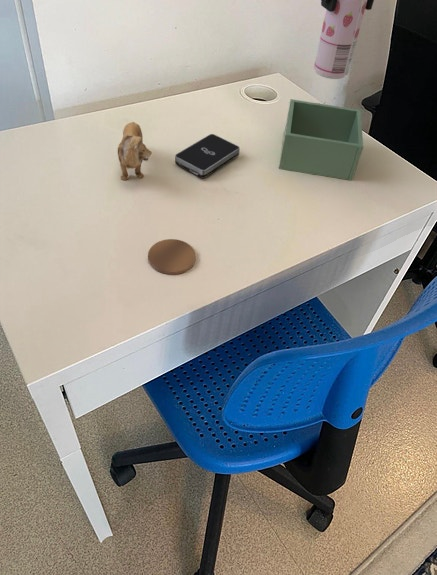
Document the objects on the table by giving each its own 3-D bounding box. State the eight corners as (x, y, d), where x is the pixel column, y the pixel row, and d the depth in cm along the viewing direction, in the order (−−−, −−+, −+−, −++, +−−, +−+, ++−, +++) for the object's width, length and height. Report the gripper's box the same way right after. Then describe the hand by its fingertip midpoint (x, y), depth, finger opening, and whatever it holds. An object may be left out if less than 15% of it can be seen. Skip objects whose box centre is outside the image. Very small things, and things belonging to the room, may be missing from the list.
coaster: (199, 246, 75) (199, 243, 75) (190, 278, 71) (190, 275, 70) (154, 238, 76) (154, 235, 75) (142, 270, 71) (142, 267, 71)
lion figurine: (153, 190, 84) (152, 143, 77) (122, 192, 83) (118, 145, 76) (142, 143, 94) (140, 98, 87) (113, 145, 92) (110, 99, 86)
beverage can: (325, 62, 84) (348, -41, 73) (354, 73, 82) (382, -32, 71) (306, 71, 81) (327, -35, 70) (336, 83, 79) (362, -25, 68)
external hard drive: (173, 165, 89) (173, 155, 88) (211, 142, 96) (212, 132, 94) (203, 181, 87) (203, 171, 85) (240, 156, 93) (241, 147, 92)
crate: (350, 142, 100) (360, 109, 95) (352, 180, 91) (363, 146, 86) (284, 131, 101) (290, 99, 96) (278, 168, 91) (285, 134, 86)
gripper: (338, -152, 56) (306, 19, 69) (459, -145, 61) (407, 14, 74) (308, -161, 61) (283, 1, 74) (422, -154, 66) (380, -3, 79)
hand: (346, 6), depth 74 cm, fingers closed on beverage can, 5 cm apart
